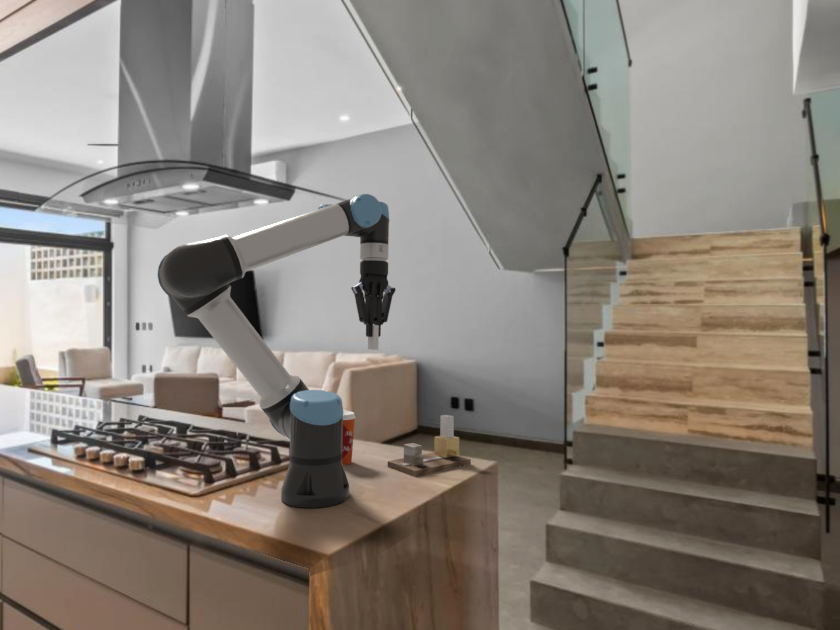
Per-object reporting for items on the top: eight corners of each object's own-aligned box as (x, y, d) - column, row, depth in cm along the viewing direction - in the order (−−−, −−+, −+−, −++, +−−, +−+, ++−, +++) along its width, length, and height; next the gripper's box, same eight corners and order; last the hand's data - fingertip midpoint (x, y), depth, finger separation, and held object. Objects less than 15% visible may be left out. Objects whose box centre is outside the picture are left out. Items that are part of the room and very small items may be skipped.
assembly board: (414, 476, 141) (415, 451, 141) (387, 466, 151) (387, 442, 151) (470, 464, 154) (470, 441, 154) (442, 455, 163) (442, 433, 163)
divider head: (450, 459, 151) (451, 419, 151) (434, 454, 157) (434, 415, 157) (464, 456, 154) (464, 417, 154) (447, 451, 160) (447, 413, 160)
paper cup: (353, 466, 150) (353, 415, 150) (325, 466, 150) (325, 415, 150) (357, 459, 158) (357, 410, 158) (330, 459, 158) (331, 410, 158)
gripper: (361, 257, 139) (360, 350, 139) (402, 261, 148) (401, 349, 147) (345, 259, 145) (344, 349, 145) (385, 263, 153) (384, 348, 153)
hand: (373, 349), depth 146 cm, fingers closed
